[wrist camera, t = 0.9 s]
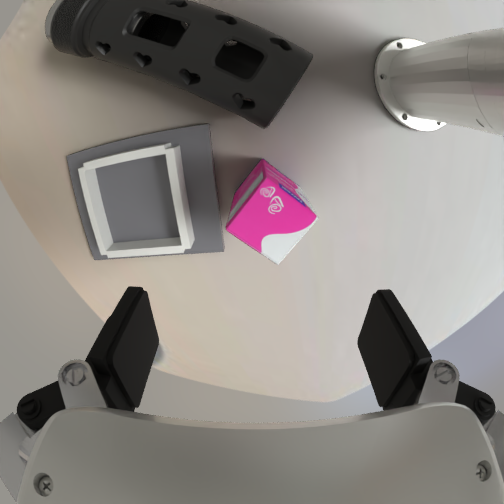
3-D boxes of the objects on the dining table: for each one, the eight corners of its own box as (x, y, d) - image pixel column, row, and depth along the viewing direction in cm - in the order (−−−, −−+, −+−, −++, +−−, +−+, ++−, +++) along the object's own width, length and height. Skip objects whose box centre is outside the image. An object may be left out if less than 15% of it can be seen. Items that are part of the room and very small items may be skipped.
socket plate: (209, 123, 29) (203, 124, 26) (224, 248, 36) (221, 261, 33) (70, 154, 30) (55, 160, 27) (97, 256, 37) (86, 268, 34)
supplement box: (301, 184, 32) (321, 220, 22) (270, 220, 35) (276, 269, 24) (262, 155, 31) (266, 176, 21) (232, 194, 33) (222, 233, 23)
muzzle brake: (262, 129, 29) (265, 135, 20) (76, 54, 23) (26, 46, 14) (303, 63, 25) (325, 42, 16) (109, -5, 19) (68, -28, 10)
